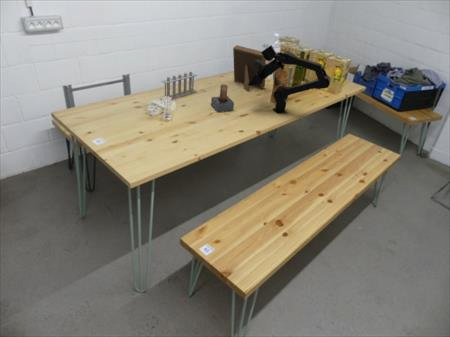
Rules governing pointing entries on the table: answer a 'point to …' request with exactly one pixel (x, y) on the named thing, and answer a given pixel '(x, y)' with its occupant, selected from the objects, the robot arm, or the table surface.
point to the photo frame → (246, 65)
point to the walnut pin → (223, 93)
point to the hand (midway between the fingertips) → (250, 82)
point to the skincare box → (290, 76)
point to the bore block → (222, 104)
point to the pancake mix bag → (280, 79)
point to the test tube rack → (179, 78)
